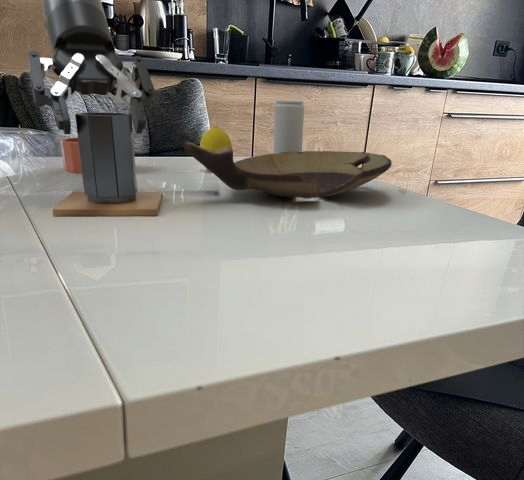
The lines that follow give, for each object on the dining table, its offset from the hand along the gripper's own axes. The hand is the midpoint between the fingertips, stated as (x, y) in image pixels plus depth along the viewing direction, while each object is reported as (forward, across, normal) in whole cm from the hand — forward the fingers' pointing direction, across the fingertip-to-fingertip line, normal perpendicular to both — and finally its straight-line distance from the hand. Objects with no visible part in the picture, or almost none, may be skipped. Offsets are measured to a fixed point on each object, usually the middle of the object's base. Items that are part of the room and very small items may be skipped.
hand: (105, 129), depth 65 cm
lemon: (-8, +22, +21) cm, 31 cm away
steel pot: (+6, 0, +6) cm, 8 cm away
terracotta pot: (-13, +4, +26) cm, 30 cm away
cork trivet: (+6, 0, +7) cm, 9 cm away
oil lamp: (+7, +26, +6) cm, 27 cm away
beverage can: (-4, +33, +16) cm, 37 cm away
